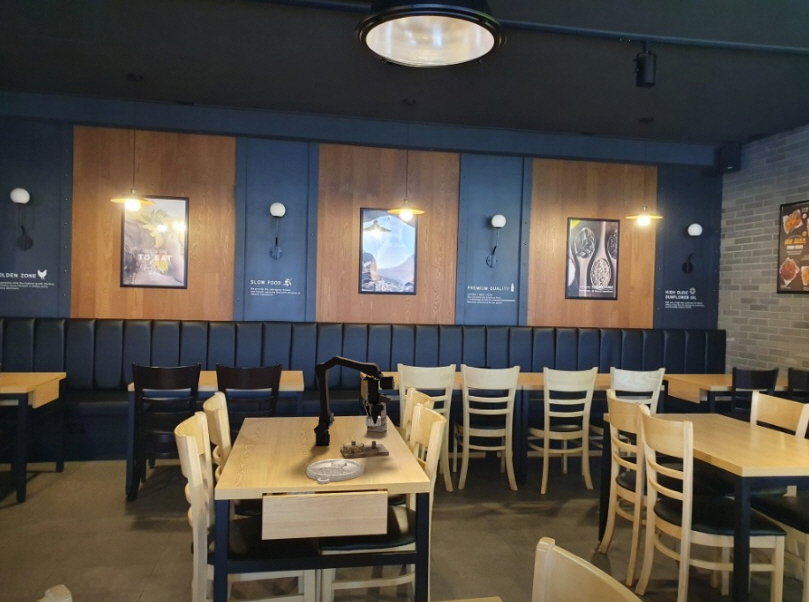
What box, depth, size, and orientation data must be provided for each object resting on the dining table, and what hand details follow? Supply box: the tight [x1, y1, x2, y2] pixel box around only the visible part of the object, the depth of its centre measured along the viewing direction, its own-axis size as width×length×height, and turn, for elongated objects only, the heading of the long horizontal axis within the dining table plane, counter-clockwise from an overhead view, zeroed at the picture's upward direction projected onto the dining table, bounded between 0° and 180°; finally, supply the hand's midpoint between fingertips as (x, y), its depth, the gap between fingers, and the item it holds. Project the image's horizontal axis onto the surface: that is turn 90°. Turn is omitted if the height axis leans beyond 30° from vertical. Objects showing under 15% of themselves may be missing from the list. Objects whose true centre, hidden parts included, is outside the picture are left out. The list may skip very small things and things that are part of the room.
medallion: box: [305, 458, 364, 485], centre depth 234 cm, size 24×27×2 cm
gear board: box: [340, 440, 390, 459], centre depth 264 cm, size 20×14×6 cm
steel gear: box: [365, 415, 381, 427], centre depth 275 cm, size 7×7×4 cm
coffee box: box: [366, 402, 388, 433], centre depth 306 cm, size 9×6×16 cm
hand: (373, 422), depth 274 cm, fingers closed on steel gear, 7 cm apart
